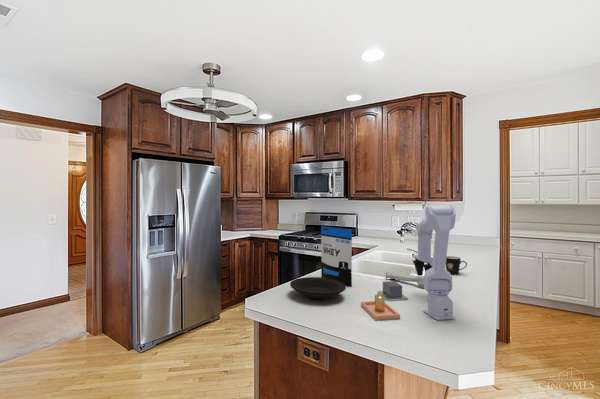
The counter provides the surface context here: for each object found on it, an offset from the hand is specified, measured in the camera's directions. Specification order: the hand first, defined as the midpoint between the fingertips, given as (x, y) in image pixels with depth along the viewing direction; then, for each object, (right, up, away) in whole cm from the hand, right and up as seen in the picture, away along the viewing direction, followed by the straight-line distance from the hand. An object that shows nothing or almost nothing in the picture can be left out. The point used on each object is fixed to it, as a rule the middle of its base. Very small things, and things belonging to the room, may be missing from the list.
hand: (424, 277), depth 146 cm
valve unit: (-14, -9, +2) cm, 17 cm away
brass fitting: (-25, -9, -18) cm, 32 cm away
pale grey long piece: (0, -10, +23) cm, 25 cm away
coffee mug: (+35, -9, +42) cm, 55 cm away
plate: (-50, -10, +3) cm, 51 cm away
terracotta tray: (-26, -10, -18) cm, 33 cm away
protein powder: (-38, -9, +27) cm, 48 cm away
